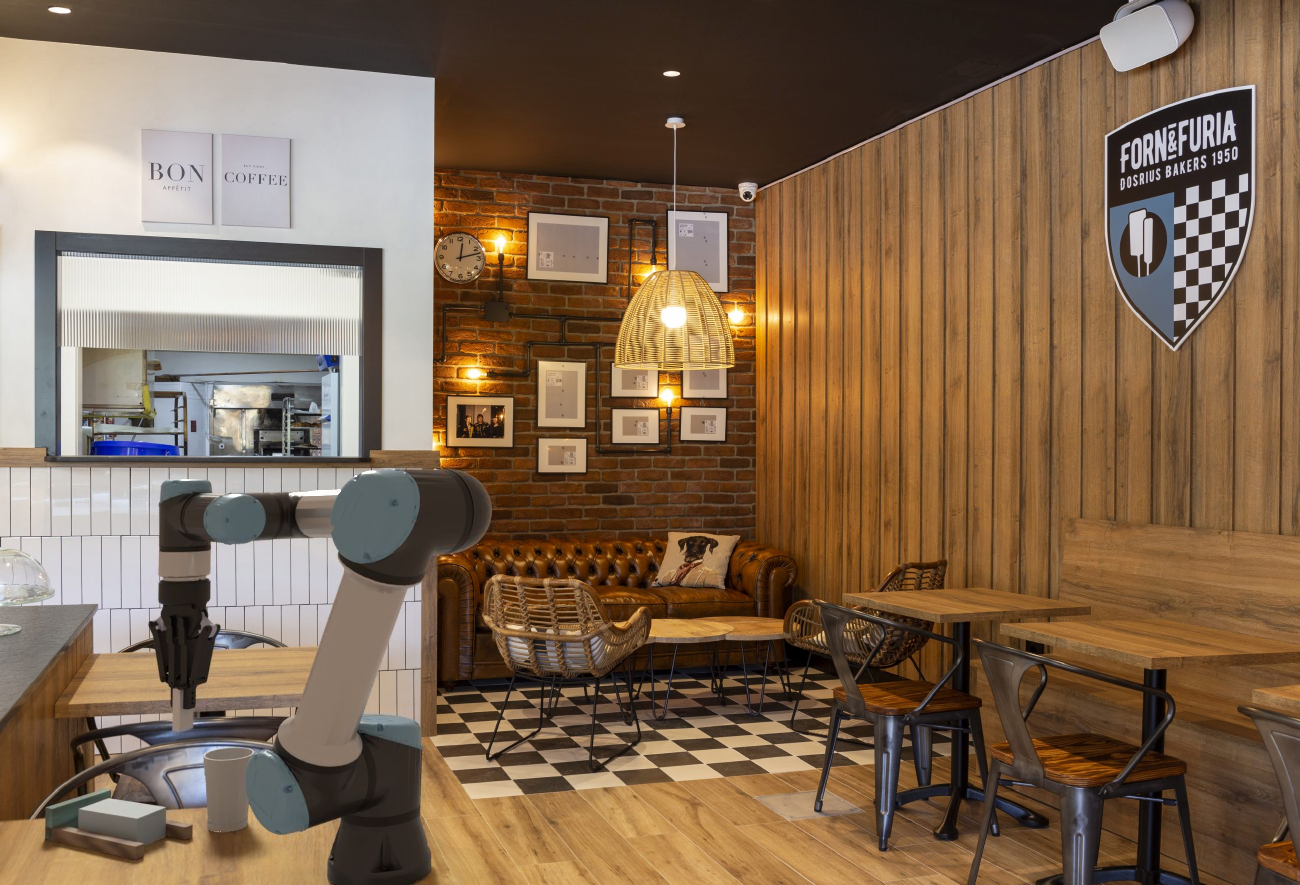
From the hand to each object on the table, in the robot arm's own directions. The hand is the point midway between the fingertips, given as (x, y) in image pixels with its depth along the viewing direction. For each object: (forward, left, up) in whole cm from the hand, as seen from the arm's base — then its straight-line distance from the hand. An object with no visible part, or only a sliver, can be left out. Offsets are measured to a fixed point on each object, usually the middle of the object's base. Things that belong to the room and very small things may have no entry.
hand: (182, 729), depth 170 cm
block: (+13, 0, -19) cm, 23 cm away
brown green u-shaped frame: (+13, 0, -19) cm, 23 cm away
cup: (+2, -12, -19) cm, 23 cm away
